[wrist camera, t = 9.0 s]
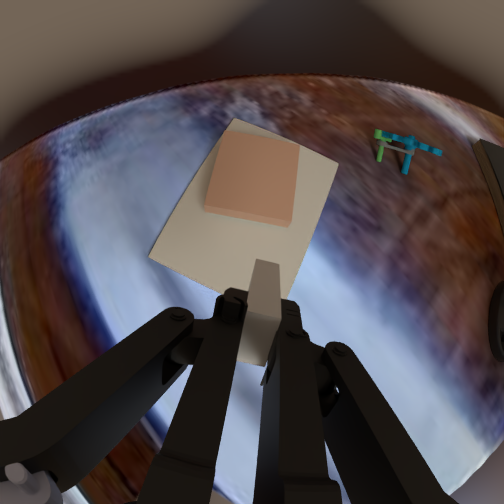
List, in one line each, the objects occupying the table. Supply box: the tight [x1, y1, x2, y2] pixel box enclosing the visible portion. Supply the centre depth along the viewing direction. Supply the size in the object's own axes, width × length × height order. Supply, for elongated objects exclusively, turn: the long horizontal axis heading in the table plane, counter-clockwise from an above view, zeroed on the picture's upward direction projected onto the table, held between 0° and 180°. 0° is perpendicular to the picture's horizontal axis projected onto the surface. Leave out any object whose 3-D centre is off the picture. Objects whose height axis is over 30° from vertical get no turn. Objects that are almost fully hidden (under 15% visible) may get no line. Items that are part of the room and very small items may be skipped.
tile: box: [204, 130, 300, 228], centre depth 30 cm, size 2×9×10 cm
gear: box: [374, 129, 442, 174], centre depth 33 cm, size 11×6×10 cm
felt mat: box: [148, 118, 339, 299], centre depth 30 cm, size 15×21×1 cm
